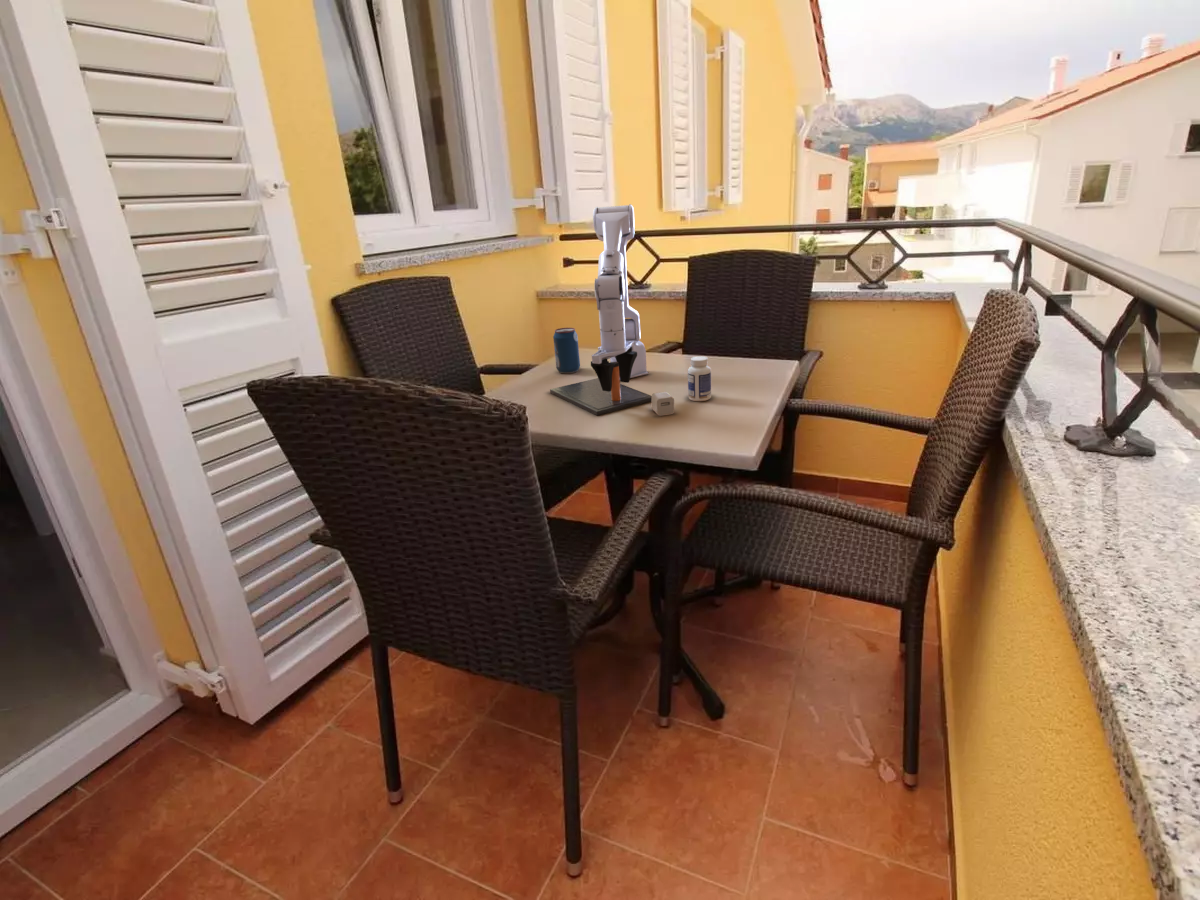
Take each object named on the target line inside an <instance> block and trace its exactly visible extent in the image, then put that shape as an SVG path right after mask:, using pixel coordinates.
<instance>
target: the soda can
mask: <svg viewBox="0 0 1200 900" xmlns="http://www.w3.org/2000/svg"><path fill="white" fill-rule="evenodd" d="M552 338H553V339H552V340H553V348H554V350H553V351H554V358H555V368H556V370H557V371H558V373H560V374H573V373H576V372H578V371H579V369H580V368H581V359H580V348H579V347H580V346H579V336H578V333H577V332H576V328H574V327H561V328H556V329H555V330H554V332H553V336H552Z"/></svg>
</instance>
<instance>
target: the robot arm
mask: <svg viewBox="0 0 1200 900" xmlns="http://www.w3.org/2000/svg"><path fill="white" fill-rule="evenodd" d="M592 221H593V230H594V232H595V235H596V238H598V241H600V242H603V251H602V252H601V253H600V254H599V255H598V266H597V267H598V268H597V278H594V282H593V283H594V284H593V285H594V286H593V288H594V289H593V290H594V297H595V301H596V308H597V309H596V310H597V311H598V320H599V332H600V333H599V335H600V346H598V347H597V351H596V352H595V353H593V354H591V361H590V367H591V368H592V369H593V371H594V372H595V374H596V376H597V378H598V379H599V381H600V384H601V387H602V390H603V391H608V392H610V391H611V389H612V373H613V368H614V365H615V363H610V362H619V376H620V383H625V384H629V383H630V381H631V379H632V378H636V377H637V378H638V377H641V376H645V375H649V371H648V370H647V367H648V366H647V350H646V346H645V344H644V343H643V341H641V335H642V334H641V333H642V332H641V319H640V314H639V311H638V310H636V309H635V308H633V307H632V306H630V304H629V290H628V289H629V287H628V271H627V270H628V269H627V268H628V267H627V245H628V242H629V241H630V240H633V239H634V238H635V235H636V233H635V231H636V230H635V209H634V206H633V205H632V204H631V203H630V204H626V205H625V204H624V205H614V206H601V207H600V206H595V207H594V208H593V210H592ZM609 359H610V360H609Z"/></svg>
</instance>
